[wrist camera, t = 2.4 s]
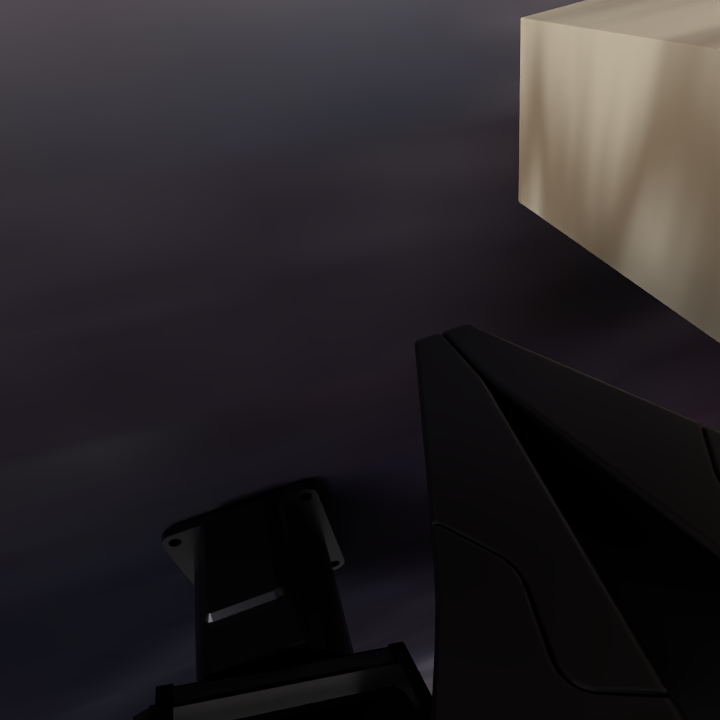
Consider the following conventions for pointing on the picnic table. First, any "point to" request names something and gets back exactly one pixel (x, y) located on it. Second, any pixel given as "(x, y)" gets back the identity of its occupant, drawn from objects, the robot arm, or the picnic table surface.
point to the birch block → (629, 141)
